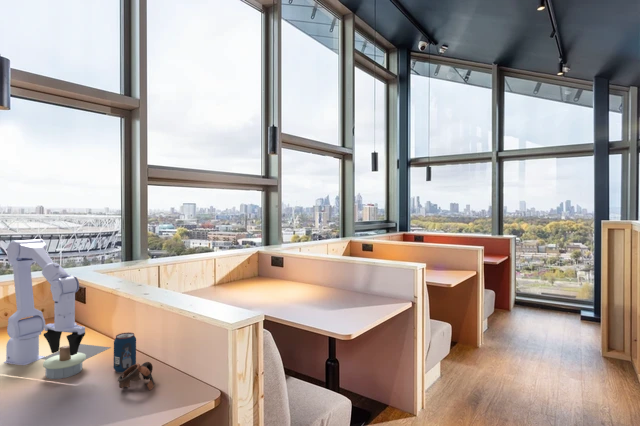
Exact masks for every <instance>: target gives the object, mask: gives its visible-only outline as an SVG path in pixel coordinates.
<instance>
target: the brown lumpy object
mask: <svg viewBox="0 0 640 426" xmlns="http://www.w3.org/2000/svg"><path fill="white" fill-rule="evenodd" d="M153 371H154V370H153V364H152V362H150V361H146V362H144V363H142V364H140V363H136V364H135V365H132V366H131V367H129V368H128V369H127V370H125V371H124V372H123V373H122V374H121V375H119V376H118V377H117V382H118V387H119V389H121V388H126V387H127V388H130V387H131V381H132V382H134V381H135V382H139V381H141V380H142V379H143V380H147V381H148V380H149V381H148V382H147V384H146V387H147V388H148V391H151V390H152V389H153V388H154V387H155V380H154V378H153V375H152V372H153ZM140 374H141V376H142V379H141V377H140ZM122 375H123V376H122Z"/></svg>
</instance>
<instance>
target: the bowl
mask: <svg viewBox="0 0 640 426" xmlns="http://www.w3.org/2000/svg"><path fill="white" fill-rule="evenodd" d="M44 369H45V370H44V371H45V377H46V378H47V379H51V380H59V379H65V378H71V377H73V376H75V375H78V374H79V373H81V371H82V370H83V362H82V363H80V364H77V365H75V366H71V367H67V368H61V369H47V368H44Z"/></svg>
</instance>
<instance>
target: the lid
mask: <svg viewBox="0 0 640 426" xmlns="http://www.w3.org/2000/svg"><path fill="white" fill-rule="evenodd" d="M85 359H86V355H85V354H84V353H78V352H77V354H75V355H70V347H69V345H63V346H59V355H56V356H53V357H50V358H48V359H46V360H45V359H44V361H43V362H42V365H43V368H44V369H45V368H47V369H61V368H67V367H71V366H75V365H77V364H80V363H82V364H83V362H84V361H86V360H87V359H86V360H85Z"/></svg>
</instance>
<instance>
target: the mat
mask: <svg viewBox="0 0 640 426" xmlns="http://www.w3.org/2000/svg"><path fill="white" fill-rule="evenodd" d="M111 348H112V347H111V346H109V347H108V346H100V345H93V344H83V343H80V345H79V348H78V353H84V354H85V355H86V359H85V361H86V360H87V359H89V358H92V357H94V356H96V355H98V354H101V353H103V352H105V351H107V350H109V349H111ZM56 355H59V351H58V352H55V353H51V354H49V355H46V356H45V357H44V358H41V359H40V360H44V361H45V360H46V359H48V358H50V357H53V356H56Z"/></svg>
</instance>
